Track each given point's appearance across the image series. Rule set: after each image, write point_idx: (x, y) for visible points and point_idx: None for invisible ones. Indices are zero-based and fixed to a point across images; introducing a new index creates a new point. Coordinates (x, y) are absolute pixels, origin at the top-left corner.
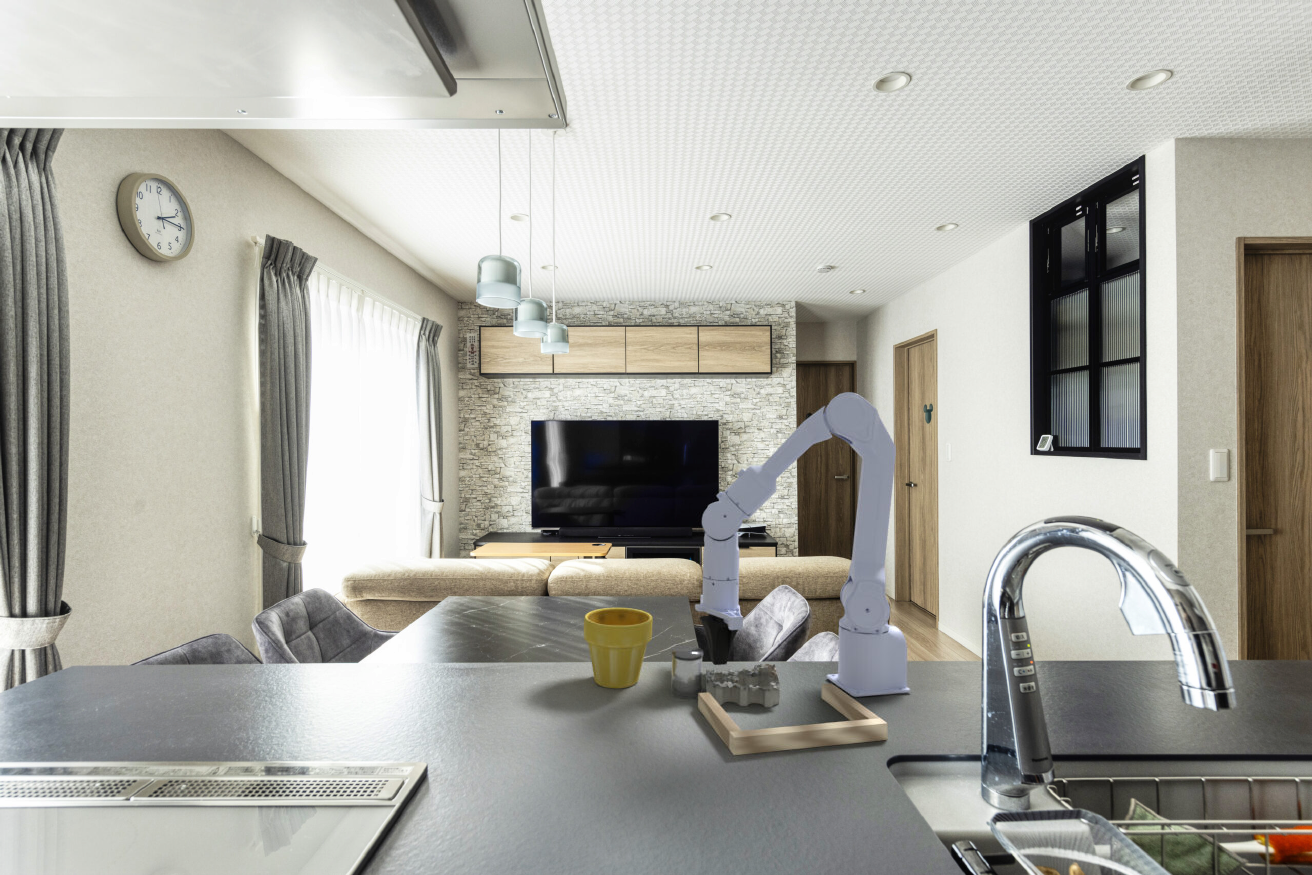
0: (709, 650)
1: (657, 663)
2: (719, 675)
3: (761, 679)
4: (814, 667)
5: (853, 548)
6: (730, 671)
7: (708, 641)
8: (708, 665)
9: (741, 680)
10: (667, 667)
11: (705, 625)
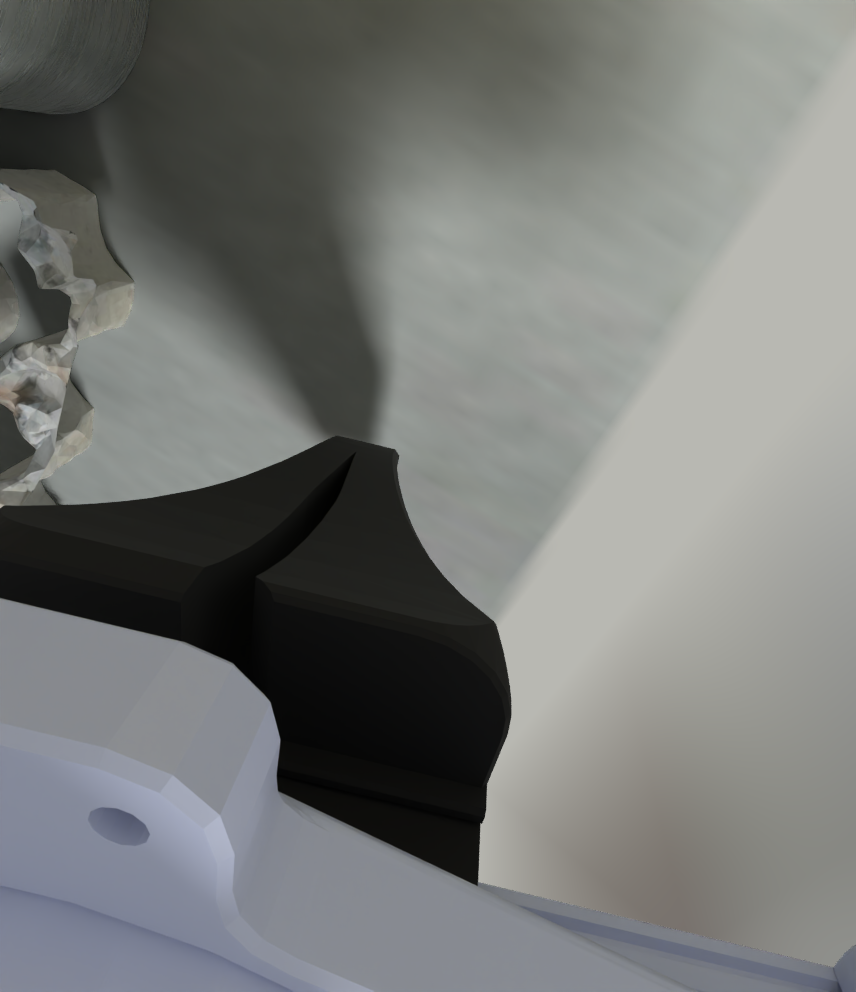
0: (391, 475)
1: (820, 51)
2: (79, 330)
3: None
4: None
5: None
6: (39, 412)
7: (370, 506)
8: (524, 465)
9: (68, 452)
10: (657, 106)
11: (221, 552)
